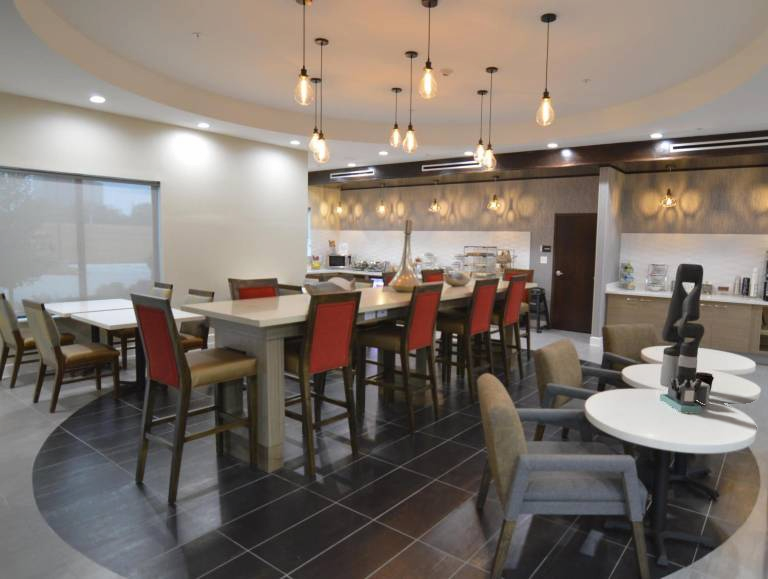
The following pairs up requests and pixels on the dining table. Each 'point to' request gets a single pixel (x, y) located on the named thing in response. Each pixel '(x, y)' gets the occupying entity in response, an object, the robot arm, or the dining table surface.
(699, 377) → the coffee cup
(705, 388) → the light grey block
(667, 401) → the tray
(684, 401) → the tall grey pillar
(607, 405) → the dining table surface
